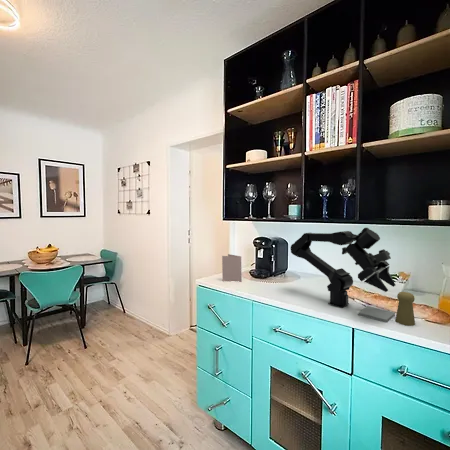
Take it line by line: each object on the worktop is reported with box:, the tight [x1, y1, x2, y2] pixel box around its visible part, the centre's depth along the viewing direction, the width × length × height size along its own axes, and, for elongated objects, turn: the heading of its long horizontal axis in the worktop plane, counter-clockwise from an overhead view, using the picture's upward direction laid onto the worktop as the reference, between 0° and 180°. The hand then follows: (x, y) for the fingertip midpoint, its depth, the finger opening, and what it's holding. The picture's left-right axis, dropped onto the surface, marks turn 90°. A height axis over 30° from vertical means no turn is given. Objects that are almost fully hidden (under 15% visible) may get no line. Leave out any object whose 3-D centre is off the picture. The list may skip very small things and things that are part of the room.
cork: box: [394, 291, 416, 327], centre depth 97 cm, size 6×6×11 cm
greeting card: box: [221, 253, 243, 283], centre depth 156 cm, size 11×7×15 cm, turn 41°
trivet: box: [357, 305, 396, 323], centre depth 104 cm, size 10×10×1 cm
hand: (390, 288), depth 100 cm, fingers open, 9 cm apart
